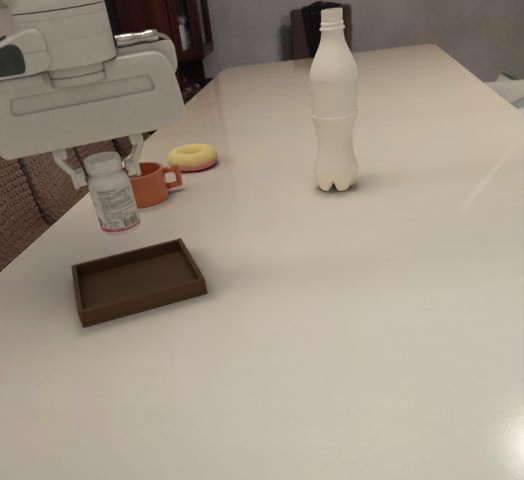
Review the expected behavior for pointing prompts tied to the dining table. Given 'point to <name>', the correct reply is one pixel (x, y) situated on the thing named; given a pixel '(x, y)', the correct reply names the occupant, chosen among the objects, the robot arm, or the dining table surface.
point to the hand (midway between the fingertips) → (108, 181)
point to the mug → (153, 183)
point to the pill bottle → (111, 193)
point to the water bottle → (334, 104)
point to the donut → (193, 157)
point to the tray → (135, 281)
